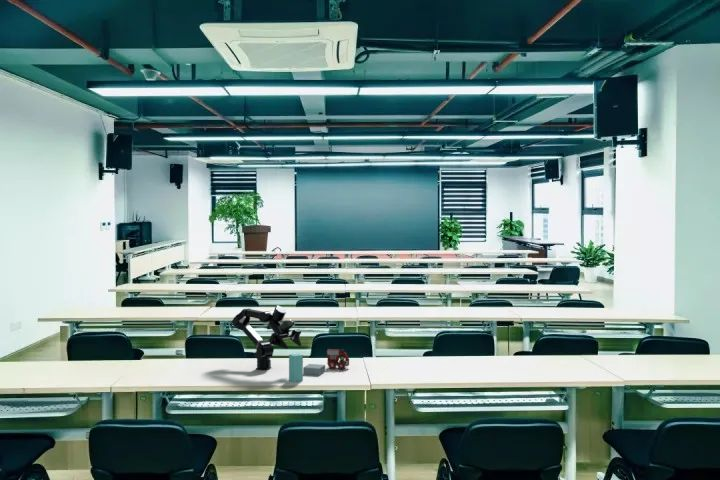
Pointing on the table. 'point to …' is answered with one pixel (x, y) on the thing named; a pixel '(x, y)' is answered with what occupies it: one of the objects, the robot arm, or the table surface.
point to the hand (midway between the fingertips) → (294, 346)
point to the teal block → (295, 367)
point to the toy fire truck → (334, 357)
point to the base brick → (314, 369)
